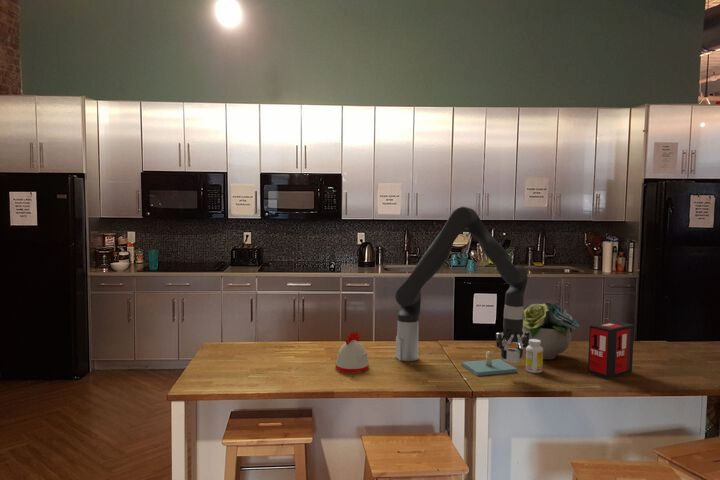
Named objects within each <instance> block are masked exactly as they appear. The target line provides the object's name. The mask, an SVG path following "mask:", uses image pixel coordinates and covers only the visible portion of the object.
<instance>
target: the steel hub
mask: <svg viewBox="0 0 720 480" xmlns="http://www.w3.org/2000/svg"><path fill="white" fill-rule="evenodd" d="M506 350H507V355H506V359H503V358H502V361H504V362H506V363H512V364H514V363H520V361H521V358H520V350H518V349H517V348H514V347H507V349H506Z"/></svg>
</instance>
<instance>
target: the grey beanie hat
mask: <svg viewBox="0 0 720 480" xmlns="http://www.w3.org/2000/svg"><path fill="white" fill-rule="evenodd" d="M360 336H361V334H360V333H358V331H355V332H354V331H352V332H349V335H347V336H346V337H347V339H344V342H345V343H343V344H342V345H341V347H340V348H339V349H338V350H337V357H336V360H335V370H337V369H338V370H340V371H339V372H341V371H343V372H342V373H346V372H358V373H361V372H360V371H363V372H366V371H368V370H369V368H368V367H369V365H370V364H369V359H368V358H369V357H368V353H367V351H366V349H365V347H364V346H363V345H362V344H361V343H360V341H359V339H360ZM338 370H337V371H338ZM365 370H366V371H365Z"/></svg>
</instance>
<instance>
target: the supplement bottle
mask: <svg viewBox="0 0 720 480" xmlns="http://www.w3.org/2000/svg"><path fill="white" fill-rule="evenodd" d="M540 344H541V341H540V340H537V339H530V340H529V346H527V348H526V347H525V370H526V371H527V372H529V373H531V374H533V373H534V374H539V373H542V372H543V370H544V369H543V368H544V359H543V348H542V347H541V346H540Z"/></svg>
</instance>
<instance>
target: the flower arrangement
mask: <svg viewBox="0 0 720 480" xmlns="http://www.w3.org/2000/svg"><path fill="white" fill-rule="evenodd" d="M567 311H568V309H566V308H564V309H562V305H561V304H560V305H559V304H556V303H552V304H551V302H545V303H531V304H529V305H528V306H527V308H525V309H524V316H523V329H522V331H523V332H524V331H526V332H528V333H530V335H529V340H530V339H537V340H540V341H541V344H540V346H541V347H542V348H543V360H553V359H555V358H556V356H557V355H559V354H561V353H564V352H565V351H567V350H568V348H569V347H570V344H571V343H572V342H571V341H572V332H573V331H572V329H573V330H575V329H577V328H580V325H579V323H577V322H578V321H577V320H576V319H575V318H573V317H572V315H570V314H569V313H568V312H567ZM522 338H523V336H521V339H522ZM529 340H528V346H529ZM526 348H527V347H525V349H526Z"/></svg>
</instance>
